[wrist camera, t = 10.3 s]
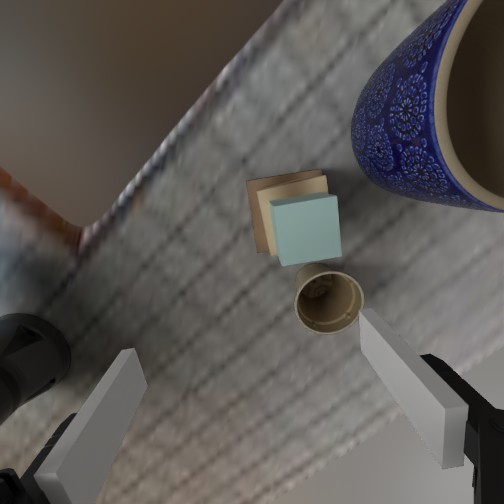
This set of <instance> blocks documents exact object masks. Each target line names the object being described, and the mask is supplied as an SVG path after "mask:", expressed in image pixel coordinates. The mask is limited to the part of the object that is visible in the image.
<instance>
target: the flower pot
mask: <svg viewBox="0 0 504 504" xmlns="http://www.w3.org/2000/svg"><path fill="white" fill-rule="evenodd" d="M326 274H328V276H327V275H326ZM314 280H315V281H316V282H315V283H314ZM296 289H297V294H296V297H295V303H294V306H295V313H296V316H297V318H298V320H299V321H300V323H301V324H302V325H303V326H304V327H305V328H307V329H308V330H310V331H312V332H315V333H318V334H324V335H328V334H336V333H339V332H342V331H344V330H346V329H347V328H349V327H350V326H351V325H352V324H354V323H355V322H356V320H357V319H358V318H359V310H363V307H364V293H363V290H362V288H361V286H360V285H359V283H358V282H357V281H356V280H355V279H354V278H352V277H351V276H349V275H348V274H345V273H342V272H338V271H333V270H331V269H330V268H328V267H327V266H325V265H323V264H318V263H312V264H309V265H306V266H304V267H303V268H302V269H301V270H300V271H299V272H298V274H297V277H296ZM302 289H304V290H305V291H303V290H302ZM324 289H325V291H324V292H323V293H321V294H319V293H320V292H321V291H323V290H324Z"/></svg>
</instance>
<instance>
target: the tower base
mask: <svg viewBox="0 0 504 504" xmlns="http://www.w3.org/2000/svg"><path fill="white" fill-rule="evenodd" d="M315 175H322V169H318V170H309V171H303V172H297V173H291V174H285V175H279V176H273V177H266V178H260V179H254V180H248V181H246V184H247V190H248V197H249V203H250V209H251V216H252V222H253V228H254V235H255V241H256V247H257V253H261V252H268V251H269V247H268V242H267V238H266V233H265V229H264V224H263V219H262V215H261V210H260V206H259V201H258V197H257V192H256V189H259V188H264V187H268V186H272V185H276V184H281V183H285V182H289V181H293V180H298V179H302V178H306V177H310V176H315Z"/></svg>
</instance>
